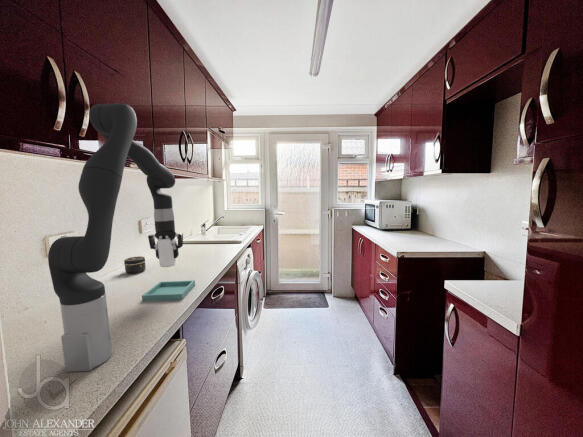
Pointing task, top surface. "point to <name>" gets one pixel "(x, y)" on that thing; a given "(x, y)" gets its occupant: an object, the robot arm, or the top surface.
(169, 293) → the tray
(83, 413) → the top surface
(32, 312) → the top surface
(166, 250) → the can
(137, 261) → the jar
